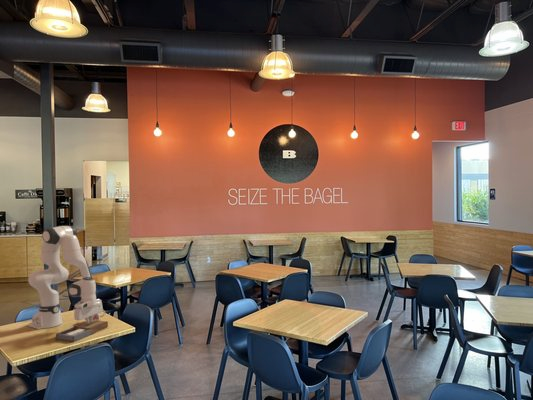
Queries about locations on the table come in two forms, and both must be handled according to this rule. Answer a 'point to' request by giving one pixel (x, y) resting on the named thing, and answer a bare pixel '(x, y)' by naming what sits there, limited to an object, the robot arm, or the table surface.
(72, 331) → the front coaster
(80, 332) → the rear coaster
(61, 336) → the tray
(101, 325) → the walnut board
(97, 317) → the teacup with lid
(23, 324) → the table surface
